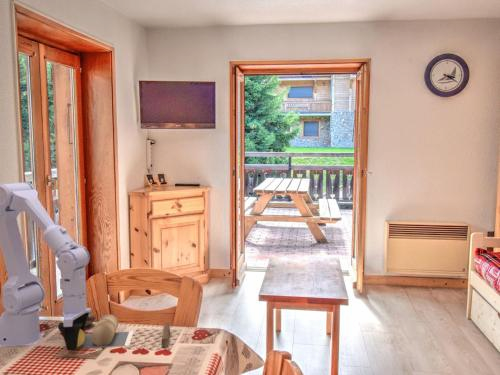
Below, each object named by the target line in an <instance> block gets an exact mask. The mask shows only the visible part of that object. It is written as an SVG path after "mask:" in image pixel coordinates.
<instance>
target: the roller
mask: <svg viewBox="0 0 500 375" xmlns="http://www.w3.org/2000/svg"><path fill="white" fill-rule="evenodd" d="M118 327H119V320H118V318H117V317H116V315H114V314H111V313H109V314H104V315H102V316H101V317H99V319H98V320H97V323H96V324H95V327H94V329H93V330H92V332H91V333H92V335H91V338H92V341H93V343H94V344H96V345H97V346H106V345H108V344H110V342H111V341H112V339H113V337H114V334H115V332H117V329H118Z"/></svg>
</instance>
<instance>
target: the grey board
mask: <svg viewBox="0 0 500 375" xmlns="http://www.w3.org/2000/svg"><path fill="white" fill-rule="evenodd" d="M91 335H92V332H91V333H85V341H84V343H83V344H82V345H81V346H79V347H77V348H76V350H78V349H93V348H94V349H96V348H97V349H98V348H114V347H115V348H116V347H130V344H131V341H132V337H133V335H134V331H133V330H129V331H116V332H115V334H114V337H113V339H112V341H111V342H110V344H108V345H106V346H97V345H96V344H94V343H93V341H92V338H91Z"/></svg>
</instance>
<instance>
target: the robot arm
mask: <svg viewBox="0 0 500 375" xmlns="http://www.w3.org/2000/svg"><path fill="white" fill-rule="evenodd" d="M38 197H39V192H38V191H37V190H36V189H35V187H34V185H33V184H32V183H30V182H28V181H21V182H14V183H13V182H12V183H0V250H1V254H2V257H3V258H2V259H3V262H4V265H5V270H6V274H7V280H6V281H5V283H4V284H3V286H2V288H1V291H2V302H1V303H2V307H3V308H4V311H2V313H1V314H0V347H15V346H16V347H17V346H35V345H37V344H38V343H39V341H40V340H41V339H42V338H43V336H44V335H45V332H40V307H41V303H42V302H43V301H44V300H45V298H46V291H45V288H44V287H43V285H42V283H41V282H40V279H39V277H38V276H37V275H35V274H34V273H32V272H31V271H30V267H29V264H28V258H27V255H26V250H25V248H24V243H23V239H22V235H21V232H20V228H19V223H18V220H17V218H18V217H19V215H20V213H22V212H24V213H25V214H26V215H27V216H28V217H29V218H30V219H31V220H32V221H33V223H35V225H37V227H38V228H39V229H40V230H41V232H43V235H42V239H43V241H44V242H45V244H46V245H47V246H48V248H49V249H50V251H52V253H53V254H54V255H55V256H56V258H57V260H56V261H55V262H56V265H57V268H58V270H59V271H60V272H59V273H60V277H61V279H62V280H61V282H62V285H61V287H62V310H61V312H62V313H61V314H62V316H63V321H62V322H60V323H59V324H58V325H57V328H58V330H59V331H60V333H61V335H62V337H63V340H64V344H65V347H66V350H67V351H75V350H77V349H76V348H77V343H78V335H79V331H80V329H82V330H83V331H84V332H85V330H86V327H85V325H86V321H87V318H88V315H89V313H91V311H92V308H91V307H87V292H86V290H87V287H86V286H87V285H86V284H87V283H86V267H87V266H88V264H89V263H90V253H89V250H88V249H87V247H86V246H83V245H79V243H76V242H75V240H74V239H73V238H72V237H71V235H70V234H69V233H68V229H67V228H65V227H63V225H58V224H55V222H54V221H53V219H52V218H51V217H50V215H49V213H48V212H47V210H46V208H45V207H44V206H43V205H42V202H41V201H40V200H39V198H38Z"/></svg>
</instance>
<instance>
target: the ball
mask: <svg viewBox="0 0 500 375" xmlns="http://www.w3.org/2000/svg"><path fill="white" fill-rule="evenodd" d="M85 334H86V333H85V331H83V330H82V329H80V331H79V335H78V343H77V347H79V346H81V345H82V344H83V343H84V341H85Z"/></svg>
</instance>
